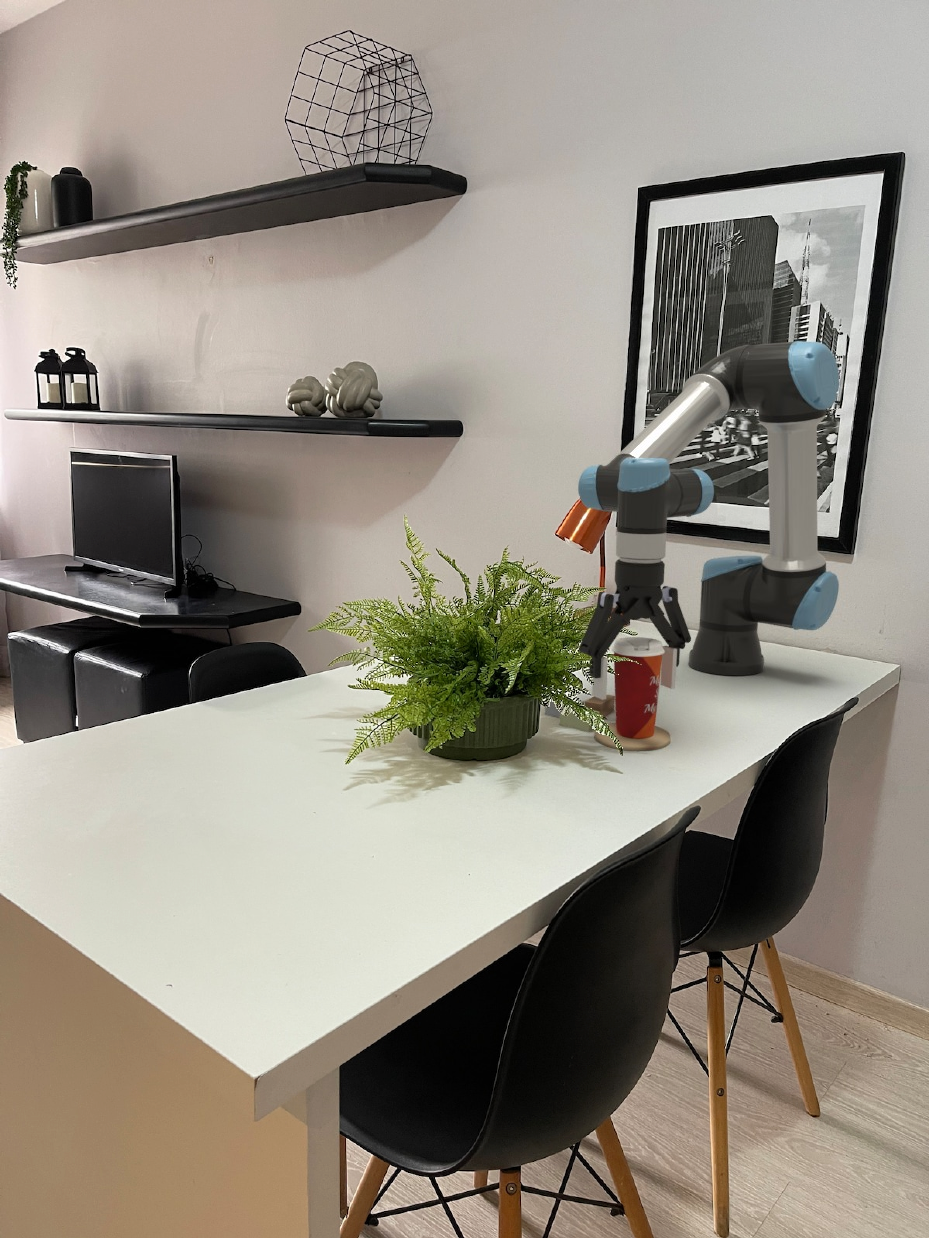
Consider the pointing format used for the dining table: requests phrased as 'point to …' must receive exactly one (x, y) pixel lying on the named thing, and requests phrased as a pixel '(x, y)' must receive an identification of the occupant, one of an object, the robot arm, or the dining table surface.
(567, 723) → the olive block
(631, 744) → the disc
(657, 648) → the coffee cup
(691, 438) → the robot arm
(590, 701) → the walnut block
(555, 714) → the slate block
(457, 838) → the dining table surface
